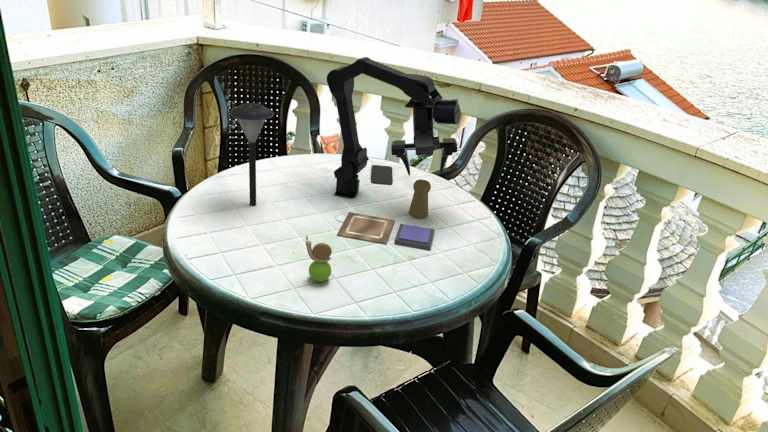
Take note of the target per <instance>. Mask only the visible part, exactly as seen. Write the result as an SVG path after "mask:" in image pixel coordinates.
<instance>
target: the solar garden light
mask: <svg viewBox="0 0 768 432" xmlns="http://www.w3.org/2000/svg"><path fill="white" fill-rule="evenodd" d="M228 115H230V117H233V118H235V119H237V121H238V123H239V125H240V127H241V130H242V131H243V133H244V135H245V137H246V139H247V142H248V170H249V171H248V173H249V174H248V175H249V178H248V179H249V206H251V207H256V205H257V171H256V170H257V167H256V166H257V165H256V163H257V162H256V161H257V160H256V159H257V156H256V155H257V154H256V151H257V150H256V149H257V148H256V147H257V145H256V142H257V139H258V138H259V135H260V133H261V130H262V128H263V127H264V124H265V121H266V120H268V119H271V118H272V117H274V116H275V112H274V111H273V110H272V109H270V108H268V107H266V106H264V105H262V104H260V103H255V102H254V103H253V102H247V103H241V104H240V105H237V106H235V107H233V108H231V109H230V110H229V111H228Z"/></svg>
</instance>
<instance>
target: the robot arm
mask: <svg viewBox="0 0 768 432" xmlns="http://www.w3.org/2000/svg"><path fill="white" fill-rule="evenodd" d="M360 75H365V76H368V77H370V78H372V79H375V80H378V81H380V82H382V83H386V84H387V85H390V86H393V87H395V88H397V89H398V90H400V91H402V92H403V94H404V95H406V96H407V97H409V98H410V99H409V100H408V102H407V103H406V104H405V105H404V108H408V109H409V108H412V123H413V124H412V126H413V127H412V128H413V142H412V143H406V139H401V140H400V139H398V140H397V139H396V140H393V141H391V145H390V146H391V148H390V149H391V150H390V151H391V155H392V156H396V158H400V160H401V161H402V163H403V164H404V165H403V166H404V167H405V169H406V172H407V175H408V176H411V168H410V167H411V166H410V162H409V161H410V160H409V156H408V151H415V155H416V156H418V157H421V156H432V155H434V151H437V150H441V153H440V163H439V174H440V175H442V174H443V171H444V167H445V164H446V162H447V160H448V158H449V157H450V156H453V154H456V153H458V143H457V139H456V138H455V137H445V138H444V137H443V138H442V141H440V136H435V133H434V122H435V123H437V124H438V125H439V124H440V125H456V126H458V125H459V123H460V121H461V114H462V113H461V111H462V110H461V108H460V104H459V99H456V98H453V99H443V96H442V95H441V94H440V92H439V91H438V89H437V88H436V85H435V82H434V80H433V78H431V77H430V76H428V75H424V74H423V75H422V74H417V73H406V72H403V71H401V70H398V69H396V68H393V67H390V66H388V65H385V64H383V63H381V62H378V61H376V60H373V59H371V58H370V57H367V56H363V57H361V58H358V59H357V60H356V61H354V62H353V63H350V64H349V65H347V66H346V65H343V66H340V67H337V68H334V69H332V70H330V71H329V72H328V73H327V75H326V83H327V86H328V89H329V92H330V93H331V96H332V97H333V98H334V100H335V103H336V107H337V114H338V121H339V125H340V132H341V137H342V138H341V140H342V144H343V148H342V153H341V159H340V160H341V164H340V165H341V166H339V167H338V168H337V169H335V170H334V171H333V175H334V178H335V179H336V182H335V183H336V186H335V192H334V196H337V197H338V196H339V197H345V198H350V199H355V198H356V196H357V195H358V194H359V191H360V183H361V182H360V181H361V180H360V179H359V173H361V171H362V170H364V169H365V168H366V167H367V165H368V161H369V160H370V159H369V157H368V149H367V147H362V146H361V144H360V140H359V135H358V129H357V123H356V117H355V108H354V103H353V93H354V88H355V78H357V77H359V76H360Z"/></svg>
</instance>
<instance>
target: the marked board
mask: <svg viewBox="0 0 768 432" xmlns="http://www.w3.org/2000/svg"><path fill="white" fill-rule="evenodd" d="M395 222H396V219H392V218H387V217H380V216H374V215H369V214H363V213H357V212H351V211H350V212H348V213H347V215H346V217H345V219H344V221H343V222H342V225H341V226H340V228H339V229H338V231H337V233H336V236H337V237H343V238H349V239H354V240H358V241H365V242H370V243H375V244H382V245H387V244H388V241H389V239H390V236H391V234H392V230H393V228H394V225H395Z"/></svg>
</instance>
